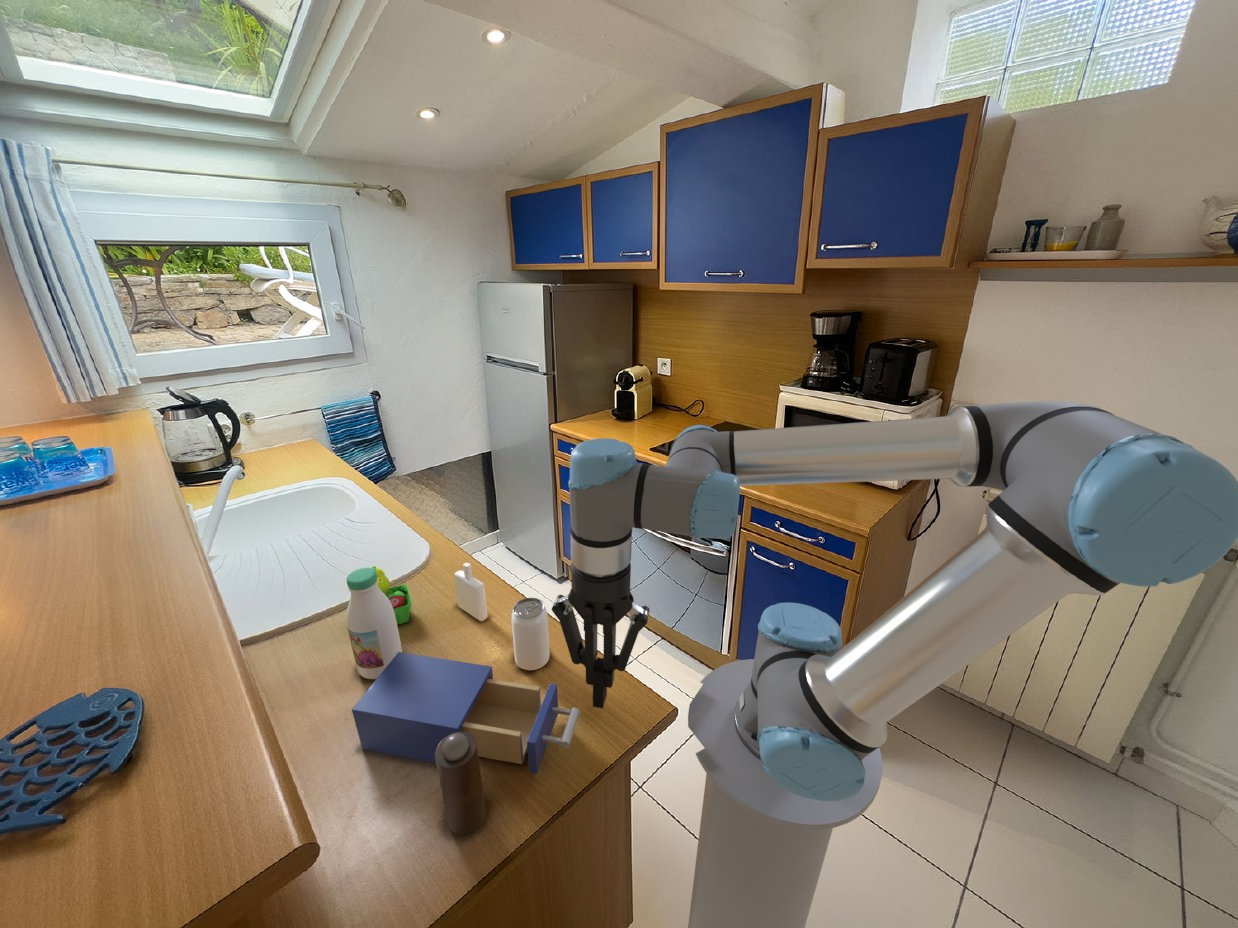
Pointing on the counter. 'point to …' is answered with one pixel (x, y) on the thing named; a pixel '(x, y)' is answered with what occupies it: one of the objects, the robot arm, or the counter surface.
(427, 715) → the cabinet
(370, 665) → the milk bottle
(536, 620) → the can
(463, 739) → the pepper mill
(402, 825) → the counter surface
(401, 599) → the fruit basket
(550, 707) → the drawer
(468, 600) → the perfume bottle
